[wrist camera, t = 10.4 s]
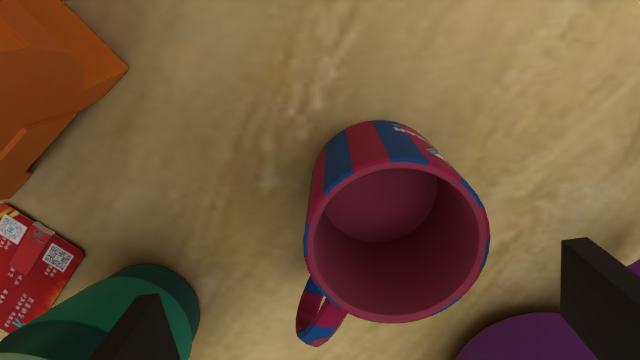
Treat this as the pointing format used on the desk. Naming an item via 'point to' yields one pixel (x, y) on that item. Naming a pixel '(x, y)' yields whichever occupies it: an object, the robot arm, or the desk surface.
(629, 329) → the robot arm
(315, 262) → the cup
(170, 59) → the desk surface
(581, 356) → the mug
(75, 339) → the cup
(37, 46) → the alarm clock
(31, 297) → the card
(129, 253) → the desk surface
